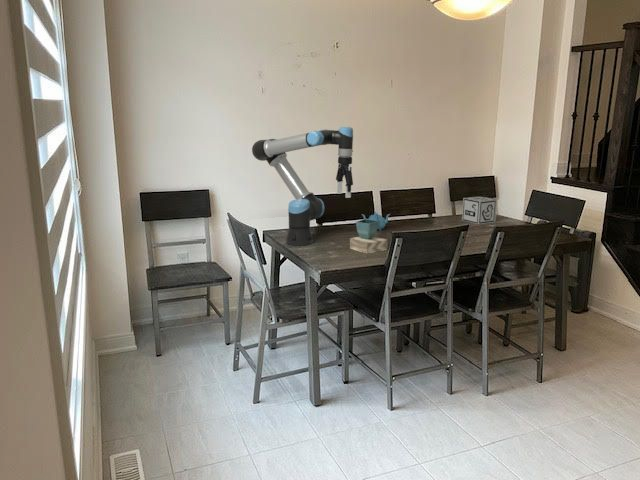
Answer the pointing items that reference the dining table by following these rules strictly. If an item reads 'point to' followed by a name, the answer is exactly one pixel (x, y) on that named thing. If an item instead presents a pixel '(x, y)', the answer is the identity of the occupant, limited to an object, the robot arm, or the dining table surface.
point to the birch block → (368, 244)
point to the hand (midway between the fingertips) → (343, 195)
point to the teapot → (378, 218)
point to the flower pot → (367, 228)
